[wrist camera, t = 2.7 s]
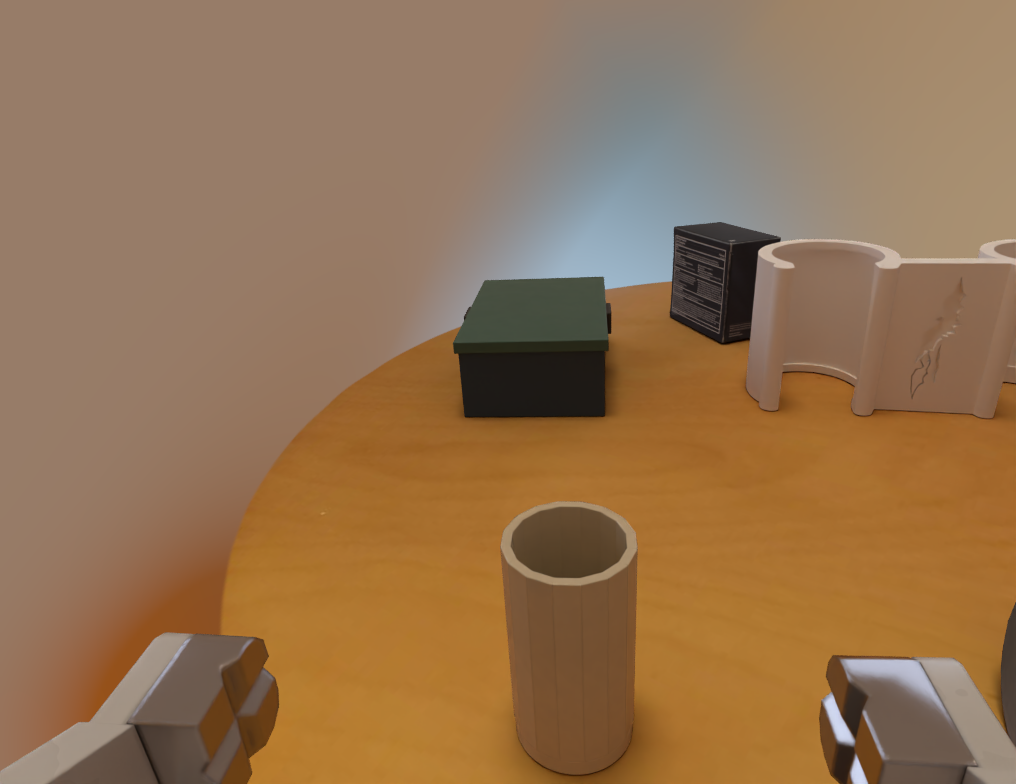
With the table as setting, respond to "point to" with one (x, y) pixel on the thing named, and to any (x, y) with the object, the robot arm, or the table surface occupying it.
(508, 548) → the cup
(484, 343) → the box
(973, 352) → the bracket
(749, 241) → the small box
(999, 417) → the table surface
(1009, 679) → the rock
